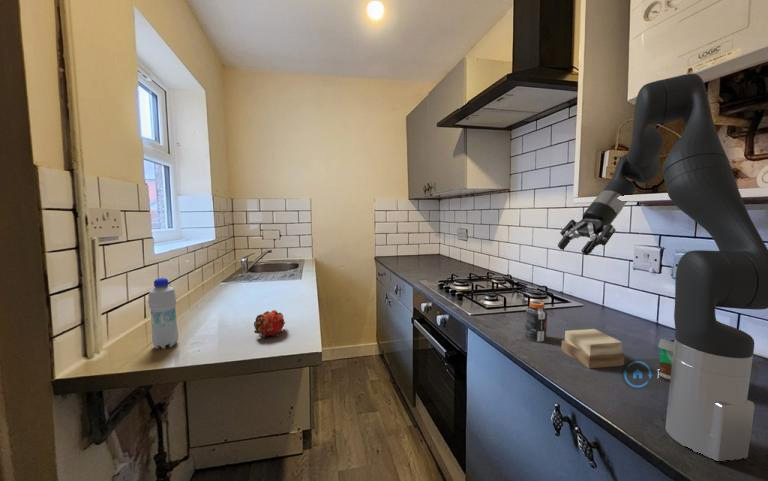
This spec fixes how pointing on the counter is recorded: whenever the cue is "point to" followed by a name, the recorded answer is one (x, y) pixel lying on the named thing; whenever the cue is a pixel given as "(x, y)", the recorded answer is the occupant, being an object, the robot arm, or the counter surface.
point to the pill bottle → (536, 322)
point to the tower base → (592, 358)
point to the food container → (666, 358)
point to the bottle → (163, 314)
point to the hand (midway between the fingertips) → (571, 250)
